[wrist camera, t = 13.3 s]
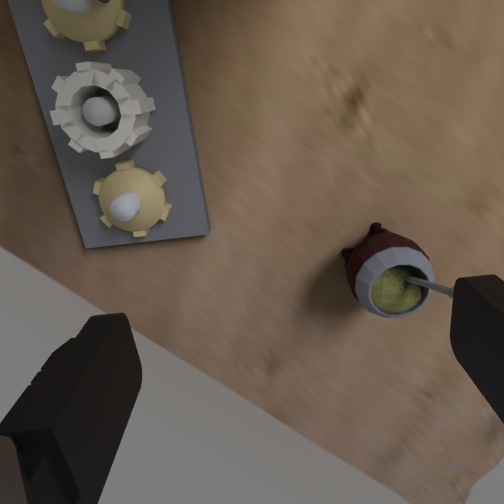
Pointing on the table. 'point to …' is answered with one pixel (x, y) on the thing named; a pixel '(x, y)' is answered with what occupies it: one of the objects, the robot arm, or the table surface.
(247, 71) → the table surface
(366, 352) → the table surface
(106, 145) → the ivory gear
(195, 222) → the gear board
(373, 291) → the mate gourd
